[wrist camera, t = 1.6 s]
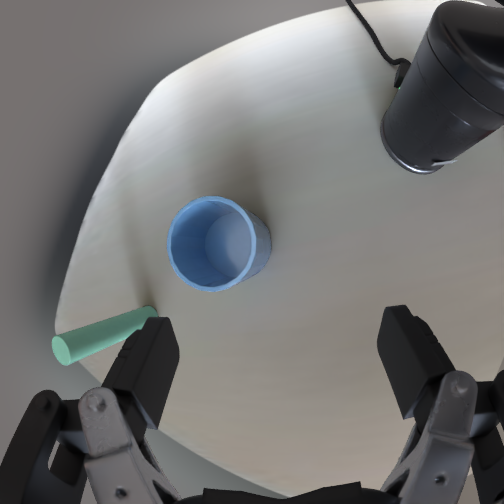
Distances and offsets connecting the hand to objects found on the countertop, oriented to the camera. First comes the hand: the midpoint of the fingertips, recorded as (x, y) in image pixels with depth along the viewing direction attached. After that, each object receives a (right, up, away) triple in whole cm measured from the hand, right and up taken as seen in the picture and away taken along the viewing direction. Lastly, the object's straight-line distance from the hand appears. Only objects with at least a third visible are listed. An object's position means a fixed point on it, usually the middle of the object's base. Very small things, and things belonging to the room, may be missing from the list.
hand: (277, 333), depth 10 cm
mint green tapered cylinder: (-14, -5, +25) cm, 29 cm away
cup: (-3, +4, +22) cm, 23 cm away
